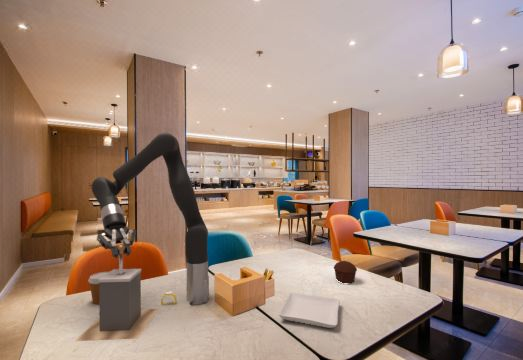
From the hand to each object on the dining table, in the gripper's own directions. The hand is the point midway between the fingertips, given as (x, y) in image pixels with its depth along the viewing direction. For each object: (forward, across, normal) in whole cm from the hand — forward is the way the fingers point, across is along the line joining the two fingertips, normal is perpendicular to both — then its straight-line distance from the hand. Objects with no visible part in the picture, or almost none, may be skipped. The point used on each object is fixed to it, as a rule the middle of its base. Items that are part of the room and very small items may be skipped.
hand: (122, 255), depth 95 cm
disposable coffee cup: (-1, -1, +38) cm, 38 cm away
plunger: (+11, 0, +14) cm, 17 cm away
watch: (+15, +19, +22) cm, 33 cm away
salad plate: (+47, +57, -10) cm, 75 cm away
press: (+16, 0, +19) cm, 25 cm away
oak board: (+17, 0, +20) cm, 26 cm away
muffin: (+42, +98, -4) cm, 106 cm away
